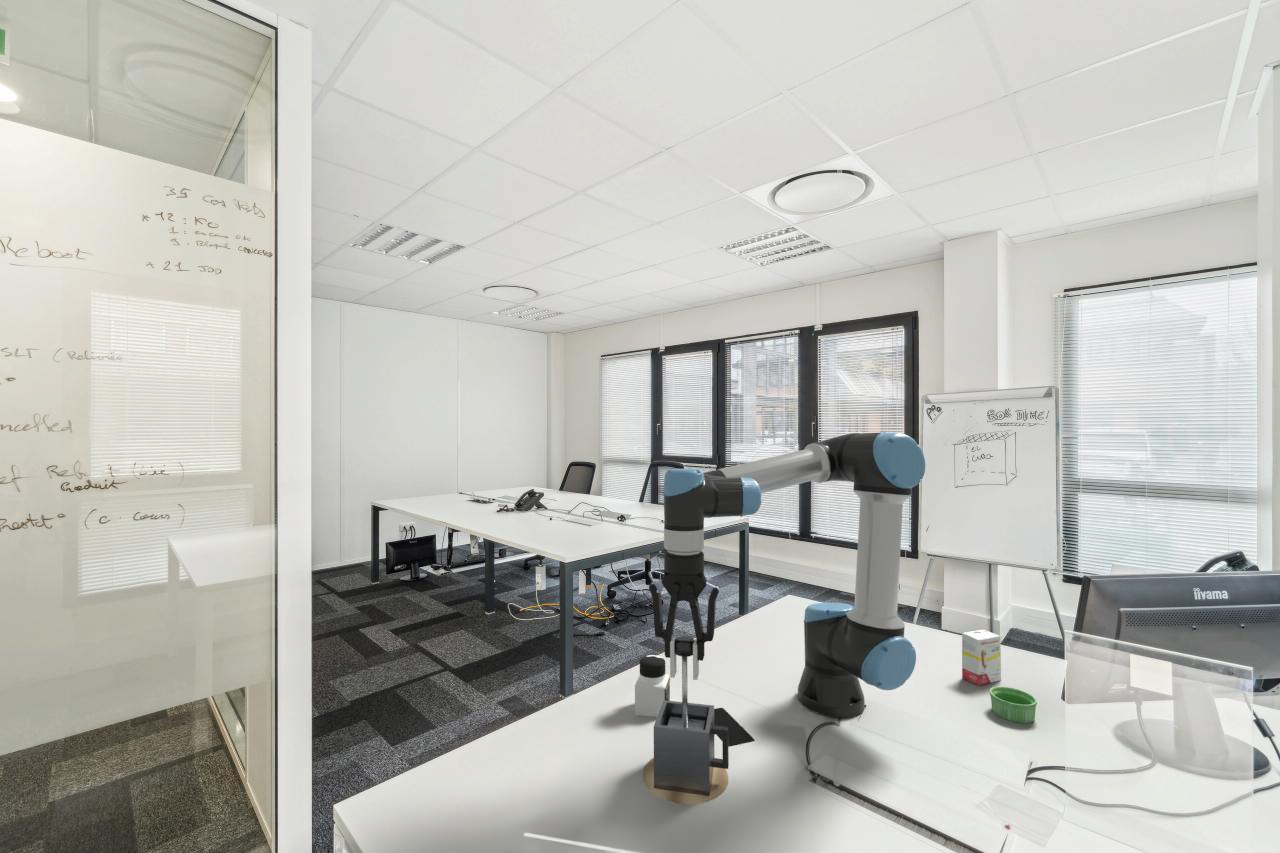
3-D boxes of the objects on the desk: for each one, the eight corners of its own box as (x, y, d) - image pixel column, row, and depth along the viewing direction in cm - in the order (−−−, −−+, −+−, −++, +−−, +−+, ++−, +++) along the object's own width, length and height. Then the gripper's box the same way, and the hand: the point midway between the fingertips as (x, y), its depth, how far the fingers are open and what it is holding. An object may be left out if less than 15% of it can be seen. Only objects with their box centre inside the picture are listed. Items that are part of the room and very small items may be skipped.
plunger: (705, 723, 103) (704, 634, 103) (701, 743, 96) (700, 648, 97) (670, 719, 105) (669, 632, 105) (664, 738, 98) (663, 645, 98)
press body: (730, 764, 103) (729, 707, 104) (726, 798, 94) (726, 735, 94) (663, 756, 106) (663, 700, 107) (653, 788, 97) (653, 726, 97)
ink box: (978, 686, 136) (977, 639, 136) (961, 678, 141) (960, 633, 141) (1002, 680, 139) (1001, 635, 139) (984, 673, 144) (983, 628, 144)
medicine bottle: (665, 719, 121) (665, 665, 121) (634, 716, 122) (634, 663, 123) (670, 704, 128) (669, 653, 128) (640, 701, 129) (640, 651, 130)
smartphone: (722, 706, 126) (756, 740, 111) (722, 710, 126) (756, 744, 111) (695, 711, 123) (727, 747, 109) (695, 715, 123) (727, 751, 109)
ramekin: (980, 707, 126) (979, 688, 126) (1012, 703, 128) (1011, 684, 128) (1013, 727, 117) (1013, 707, 117) (1047, 722, 119) (1047, 702, 119)
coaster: (731, 757, 106) (731, 755, 106) (725, 812, 91) (725, 810, 91) (652, 747, 110) (652, 745, 110) (633, 798, 94) (633, 796, 94)
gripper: (729, 548, 103) (730, 671, 102) (645, 544, 107) (645, 663, 106) (727, 556, 96) (728, 689, 95) (636, 552, 99) (637, 680, 99)
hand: (684, 675), depth 101 cm, fingers closed on plunger, 4 cm apart
